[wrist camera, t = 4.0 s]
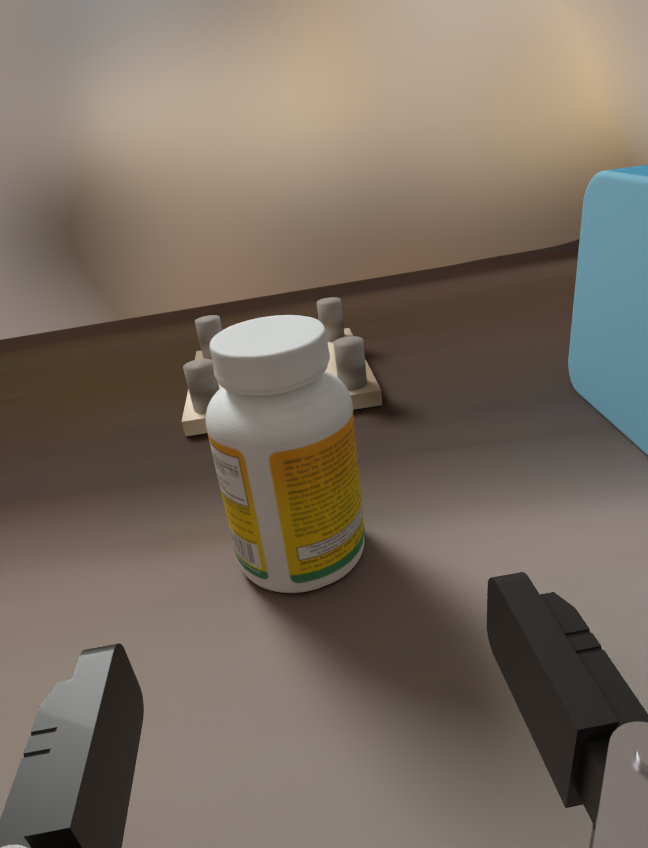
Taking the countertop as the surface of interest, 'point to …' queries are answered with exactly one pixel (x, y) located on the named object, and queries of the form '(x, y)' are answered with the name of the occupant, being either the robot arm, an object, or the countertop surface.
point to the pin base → (343, 364)
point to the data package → (613, 302)
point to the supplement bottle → (285, 454)
